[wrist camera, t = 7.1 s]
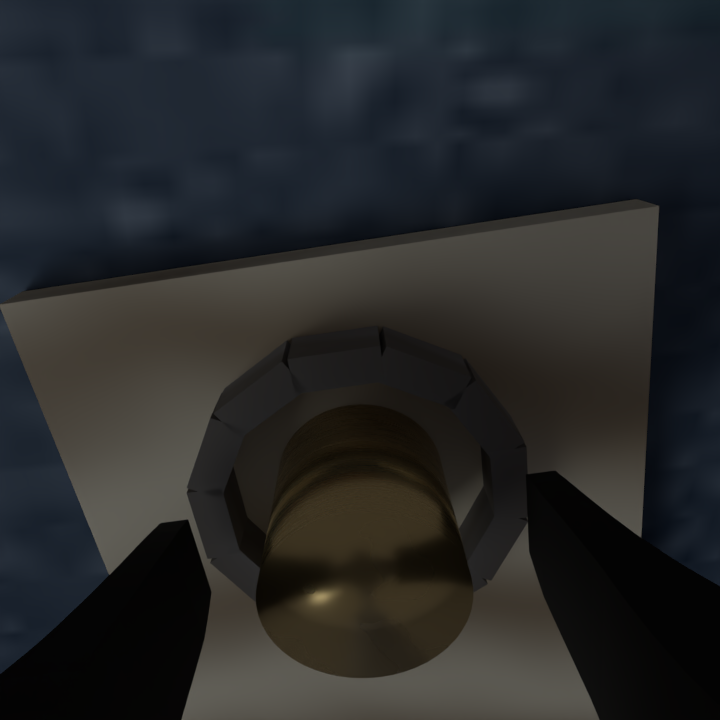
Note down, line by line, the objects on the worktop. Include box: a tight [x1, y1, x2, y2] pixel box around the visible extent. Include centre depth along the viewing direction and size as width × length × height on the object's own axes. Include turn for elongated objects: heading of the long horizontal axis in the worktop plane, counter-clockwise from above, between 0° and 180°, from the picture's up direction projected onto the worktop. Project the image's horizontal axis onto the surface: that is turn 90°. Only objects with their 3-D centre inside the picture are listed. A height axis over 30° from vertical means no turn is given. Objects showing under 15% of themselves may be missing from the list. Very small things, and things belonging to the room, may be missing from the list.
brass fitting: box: [256, 404, 473, 678], centre depth 13 cm, size 4×4×4 cm
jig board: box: [0, 199, 659, 720], centre depth 16 cm, size 20×14×2 cm
